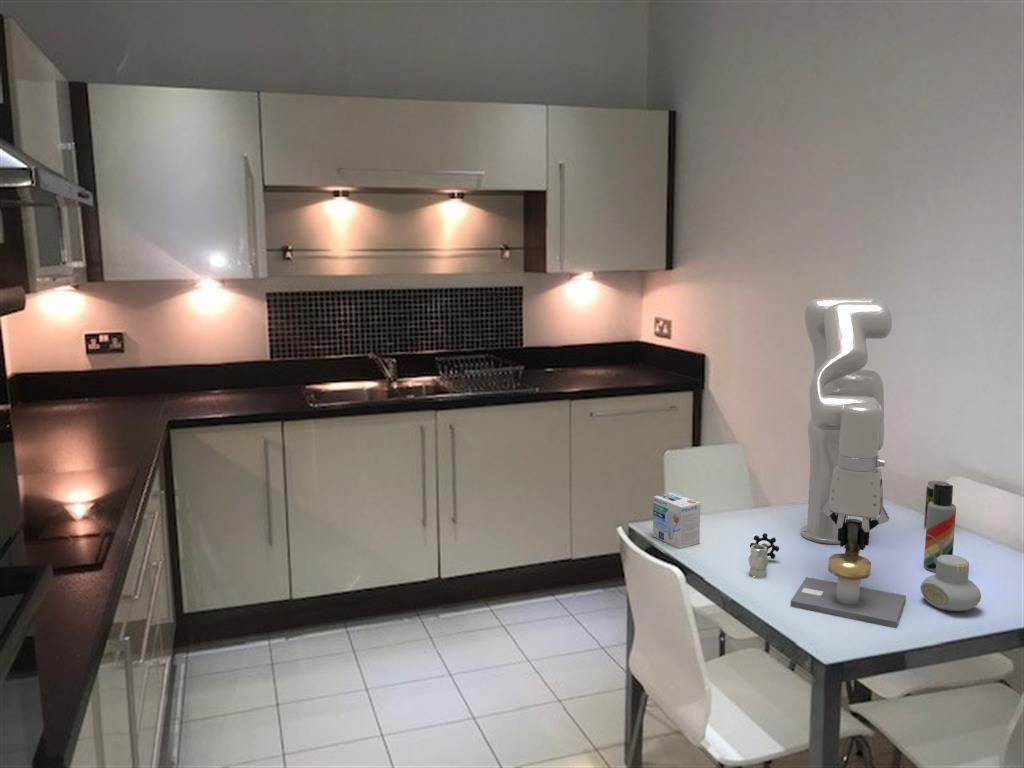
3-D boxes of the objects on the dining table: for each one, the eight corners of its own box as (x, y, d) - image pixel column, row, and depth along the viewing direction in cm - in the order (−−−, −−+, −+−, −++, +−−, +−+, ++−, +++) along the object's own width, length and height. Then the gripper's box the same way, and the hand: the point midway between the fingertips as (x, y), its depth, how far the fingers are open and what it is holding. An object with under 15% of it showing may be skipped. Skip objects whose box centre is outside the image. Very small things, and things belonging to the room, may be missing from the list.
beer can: (938, 524, 222) (941, 479, 220) (951, 531, 217) (955, 485, 215) (919, 525, 221) (922, 481, 219) (932, 532, 216) (936, 487, 214)
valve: (771, 580, 189) (778, 561, 199) (773, 552, 187) (779, 534, 198) (741, 576, 191) (749, 557, 202) (742, 548, 190) (750, 531, 201)
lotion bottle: (924, 571, 192) (930, 486, 188) (922, 562, 197) (928, 479, 193) (953, 574, 190) (959, 488, 186) (949, 565, 195) (956, 481, 192)
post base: (806, 582, 187) (807, 551, 186) (905, 601, 177) (907, 569, 176) (790, 606, 175) (791, 574, 174) (896, 627, 165) (898, 593, 164)
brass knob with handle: (872, 558, 181) (875, 521, 180) (869, 582, 169) (871, 542, 167) (832, 552, 184) (834, 516, 183) (826, 575, 172) (828, 537, 171)
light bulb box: (651, 536, 217) (652, 495, 215) (671, 531, 220) (672, 491, 218) (680, 549, 208) (680, 506, 206) (700, 544, 211) (701, 502, 209)
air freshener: (987, 613, 171) (991, 566, 169) (956, 620, 168) (960, 572, 166) (942, 592, 181) (946, 547, 179) (912, 598, 178) (915, 553, 176)
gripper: (903, 463, 176) (897, 547, 179) (820, 453, 185) (816, 534, 188) (897, 472, 170) (892, 559, 173) (812, 461, 179) (808, 545, 182)
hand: (852, 545), depth 181 cm, fingers open, 3 cm apart
